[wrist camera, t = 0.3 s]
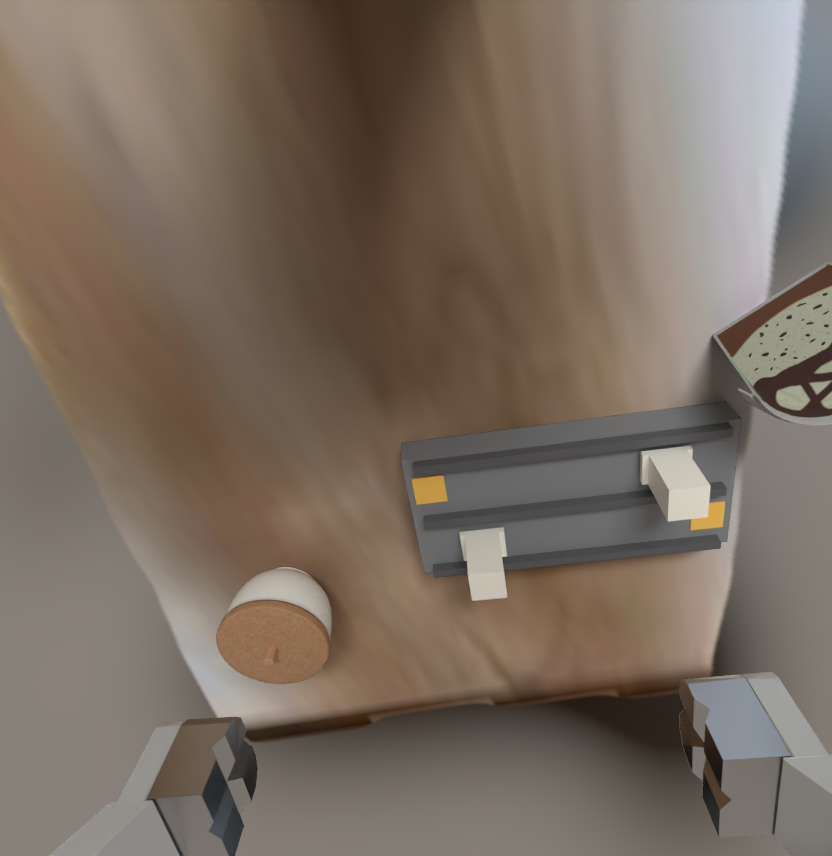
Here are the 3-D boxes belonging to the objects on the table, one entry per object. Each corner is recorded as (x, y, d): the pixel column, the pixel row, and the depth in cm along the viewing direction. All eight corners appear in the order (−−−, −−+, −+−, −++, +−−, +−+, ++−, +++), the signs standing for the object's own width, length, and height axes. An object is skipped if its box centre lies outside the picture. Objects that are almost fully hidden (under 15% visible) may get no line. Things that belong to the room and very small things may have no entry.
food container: (728, 398, 51) (788, 463, 43) (694, 345, 49) (750, 403, 40) (877, 310, 47) (977, 362, 38) (848, 248, 45) (947, 288, 36)
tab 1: (459, 531, 55) (461, 575, 50) (503, 527, 55) (510, 570, 50) (463, 556, 57) (466, 601, 52) (506, 552, 56) (513, 596, 51)
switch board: (402, 442, 54) (400, 467, 51) (725, 401, 51) (746, 424, 48) (425, 551, 61) (424, 580, 57) (714, 520, 58) (731, 548, 54)
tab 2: (640, 451, 50) (662, 491, 45) (690, 445, 50) (717, 484, 45) (639, 480, 52) (661, 522, 47) (688, 475, 51) (714, 516, 46)
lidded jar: (289, 532, 60) (266, 603, 52) (361, 594, 64) (350, 669, 56) (217, 581, 64) (185, 654, 55) (290, 637, 68) (270, 713, 59)
